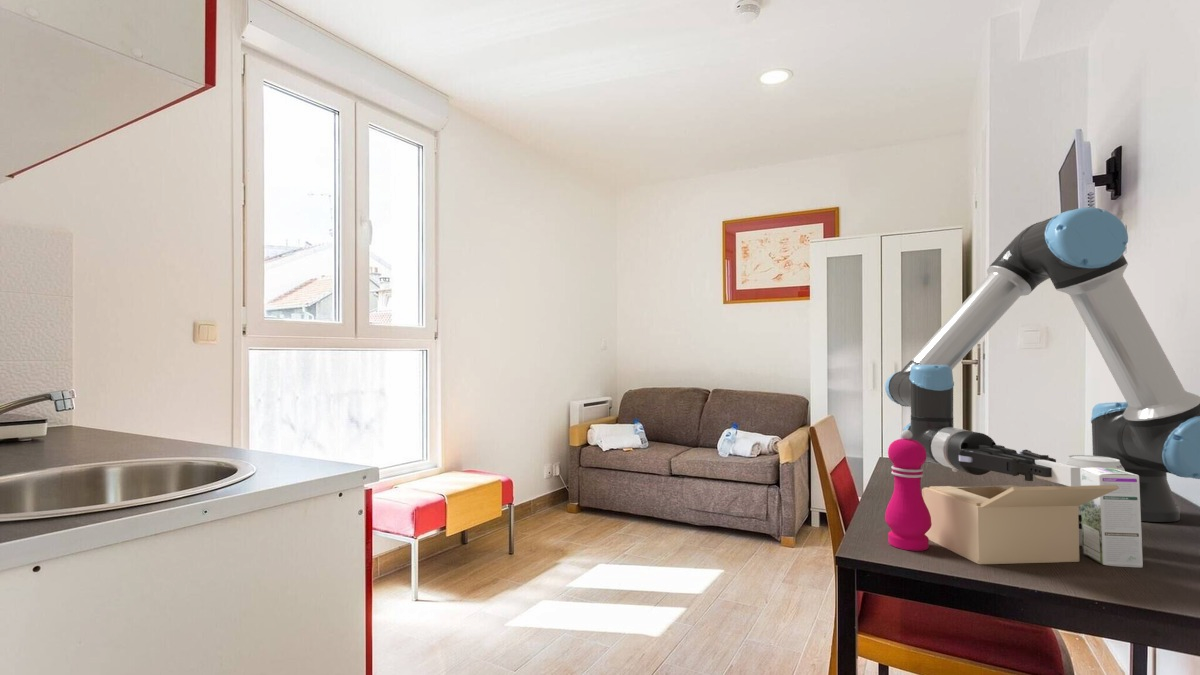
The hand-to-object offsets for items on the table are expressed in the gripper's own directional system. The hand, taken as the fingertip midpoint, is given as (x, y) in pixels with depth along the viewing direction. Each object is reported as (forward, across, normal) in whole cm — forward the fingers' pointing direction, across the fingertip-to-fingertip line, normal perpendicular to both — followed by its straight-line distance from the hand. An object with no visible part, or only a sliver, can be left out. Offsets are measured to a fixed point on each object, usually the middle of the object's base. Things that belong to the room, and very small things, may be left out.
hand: (1075, 477), depth 87 cm
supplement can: (-17, -19, -16) cm, 30 cm away
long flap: (-9, 0, -6) cm, 11 cm away
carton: (-16, 0, -16) cm, 23 cm away
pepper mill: (-19, +14, -16) cm, 28 cm away
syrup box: (-9, -14, -16) cm, 23 cm away
